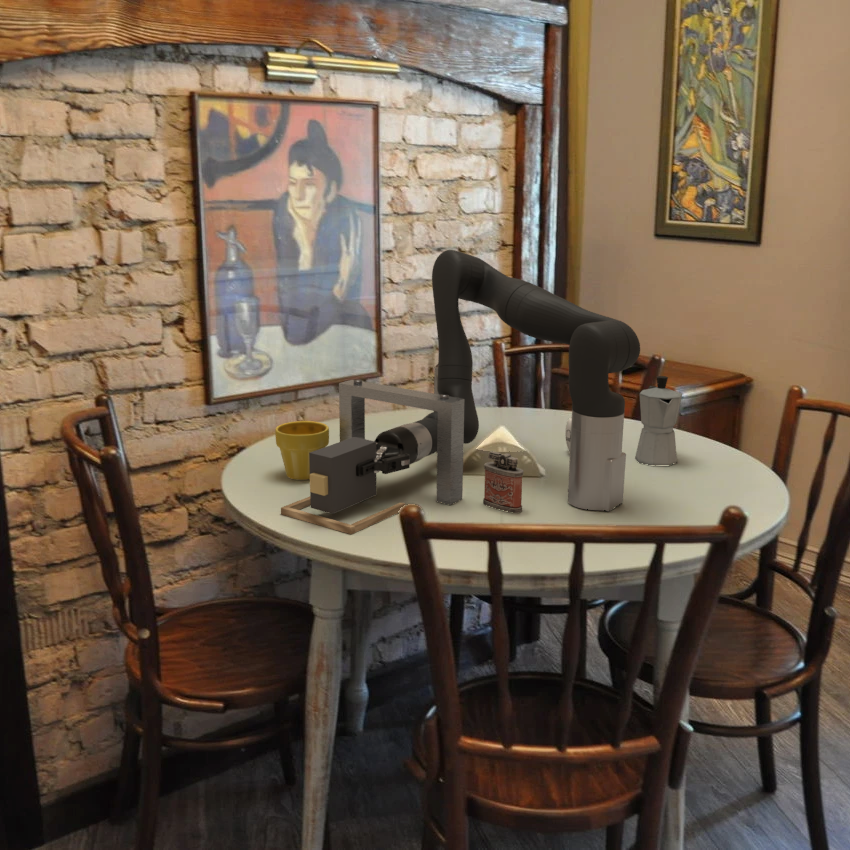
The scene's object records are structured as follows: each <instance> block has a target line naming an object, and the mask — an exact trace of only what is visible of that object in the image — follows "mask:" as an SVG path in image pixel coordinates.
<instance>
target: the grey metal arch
mask: <svg viewBox="0 0 850 850" xmlns="http://www.w3.org/2000/svg"><path fill="white" fill-rule="evenodd" d="M365 399H368V400H373V401H379V402H385V403H388V404H390V403H391V404H394V405H401V406H406V407H409V408H410V407H412V408H416V409H422V410H428V411H431V412H434V411H437V412H438V428H437V452H436V502H437V501H438V502H437V503H439V502H442V503H441V504H443V503H445V504H444V505H447V504H449V505H448V506H452V505H453V503H454V504H456V503H458V502H460V501H462V500H463V491H464V490H463V486H464V485H463V483H464V482H463V480H464V479H463V478H464V445H465V444H464V399H462V398H456V397H450V396H449V395H447V394H441V395H439V394H434V392H433V393H432V392H426V391H421V390H414V389H409V388H403V387H398V386H392V385H391V386H390V385H386V384H380V383H375V382H368V381H363V379H349V380H345V381H343V382H339V383H338V402H339V403H338V406H339V407H338V409H339V413H338V414H339V415H338V416H339V418H338V419H339V442H341V441H344V440H347V439H350V438H353V437H357V438H362V439H366V427H365V426H366V423H365V422H366V419H365V418H366V411H365V409H366V408H365V407H366V401H365ZM459 500H460V501H459ZM455 502H456V503H455ZM451 504H452V505H451Z"/></svg>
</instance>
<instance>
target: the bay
mask: <svg viewBox="0 0 850 850" xmlns="http://www.w3.org/2000/svg"><path fill="white" fill-rule="evenodd" d="M404 505H405V506H406V503H405V502H398V503H396V504H394V505H392V506H389V507H387V508H385V509H383V510H381V511H378V512H376V513H374V514H372V515H369V516H367V517H364V518H362V519H360V520H358V521H355V522H353V523H351V524H349V523H347V522H346V523H345V522H342V521H339V520H335V519H332V518H328V517H324V516H321V515H319V514H318V515H317V514H315V513H311V512H308V511H307V512H306V511H303V510H302V509H305V508H307V507H311V500H310V496H307V497H305V498H302V499H299V500H297V501H294V502H292V503H289V504H287V505H284V506H282V507H280V515H283V516H287V517H289V518H293V519H296V520H300V521H303V522H306V523H311V524H314V525H317V526H320V527H324V528H327V529H331V530H335V531H338V532H342V533H345V534H348V535H353V534H356V533H357V532H359V531H362V530H364V529H366V528H368V527H370V526H373V525H375V524H377V523H379V522H382V521H384V520H386V519H388V518H390V517H393V516H395V515H397V514H399V513H398V511H399V510H400V508H401V507H403V506H404ZM394 514H395V515H394ZM392 515H393V516H392Z"/></svg>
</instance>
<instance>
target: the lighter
mask: <svg viewBox="0 0 850 850" xmlns="http://www.w3.org/2000/svg"><path fill="white" fill-rule="evenodd" d="M487 454H488V455H487V459H489V460H492V461H488V462H485V463H484V464H483V469H484V490H483V491H484V495H483V496H484V497H483V499H482V504H483V505H485V506H486V505H487V507H488V506H490V507H489V508H491V507H493V508H492V509H494V508H496V509H495V510H497V509H500V510H499V511H501V510H504V511H503V512H505V511H508V512H507V513H510V512H513V513H512V514H519V512H520V513H522V512H523V505H522V498H523V497H522V496H523V495H522V494H523V493H522V492H523V476H524V473H525V472H524V469H522V468H519V467H518V464H519V463H518V462H519V461H518V460H519V459H518V457H513V456H512V455H511V454H510V453H509V452H508V453H504V454H503V453H501V452H497V451H493V450H490V451H489V452H487Z"/></svg>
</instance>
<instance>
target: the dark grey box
mask: <svg viewBox="0 0 850 850" xmlns="http://www.w3.org/2000/svg"><path fill="white" fill-rule="evenodd" d="M373 457H376V442H375V440H370V439H366V438H365V439H362V438H357V437H353V438H350V439H347V440H344V441H341V442H340V441H339V442H336V443H333V444H330V445H327V446H326V447H324V448H321V449H319V450H316V451H313V452H310V453H309V463H310V479H309V495H310V496H309V497H310V500H311V505H310V509H314V510H315V511H316V510H317V511H320V512H324V513H326V514H327V513H328V514H330V515H334V514H336V513H338V512H340V511H343V510H345V509H348V508H349V507H352V506H354V505H357V504H360V503H361V502H364V501H366V500H368V499H370V498H373V497H375V496H377V473H373V472H371V473H369V474H366V475H364V476H361V477H359V476H356V465H357V464H359V463H362V462H364V461H367V460H372V458H373Z"/></svg>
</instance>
